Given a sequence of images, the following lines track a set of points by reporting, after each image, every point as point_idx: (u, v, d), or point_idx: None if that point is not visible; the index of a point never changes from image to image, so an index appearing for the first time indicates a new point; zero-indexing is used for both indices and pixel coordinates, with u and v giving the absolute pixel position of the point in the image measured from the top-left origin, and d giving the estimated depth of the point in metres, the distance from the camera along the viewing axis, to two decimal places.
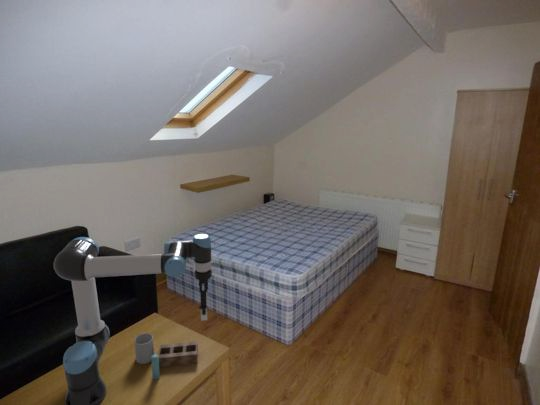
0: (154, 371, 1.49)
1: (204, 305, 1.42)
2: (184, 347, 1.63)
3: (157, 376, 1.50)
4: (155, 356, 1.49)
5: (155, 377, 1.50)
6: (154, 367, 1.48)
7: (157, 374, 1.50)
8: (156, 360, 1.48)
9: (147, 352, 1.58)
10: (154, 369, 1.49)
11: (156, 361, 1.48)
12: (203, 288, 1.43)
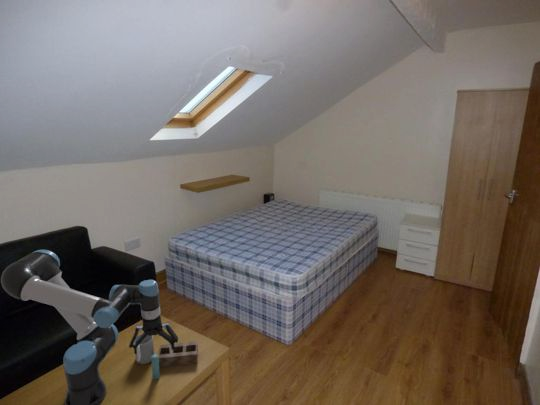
0: (154, 371, 1.49)
1: (130, 343, 1.44)
2: (184, 347, 1.63)
3: (157, 376, 1.50)
4: (155, 356, 1.49)
5: (155, 377, 1.50)
6: (154, 367, 1.48)
7: (157, 374, 1.50)
8: (156, 360, 1.48)
9: (147, 352, 1.58)
10: (154, 369, 1.49)
11: (156, 361, 1.48)
12: None
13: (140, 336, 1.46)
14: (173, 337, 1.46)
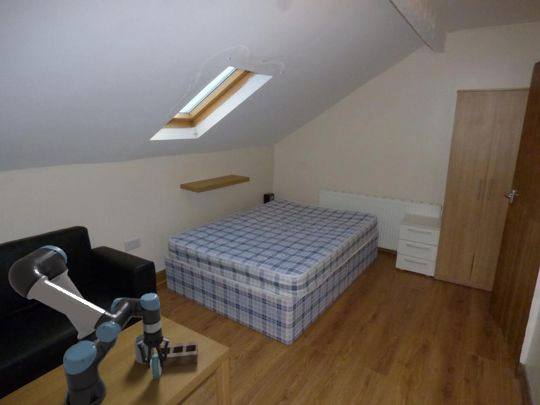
0: (154, 371, 1.49)
1: None
2: (184, 347, 1.63)
3: (157, 376, 1.50)
4: (155, 356, 1.49)
5: (155, 377, 1.50)
6: (154, 367, 1.49)
7: (157, 374, 1.50)
8: (156, 360, 1.48)
9: (147, 352, 1.58)
10: (154, 369, 1.49)
11: (156, 361, 1.48)
12: None
13: None
14: (165, 354, 1.48)
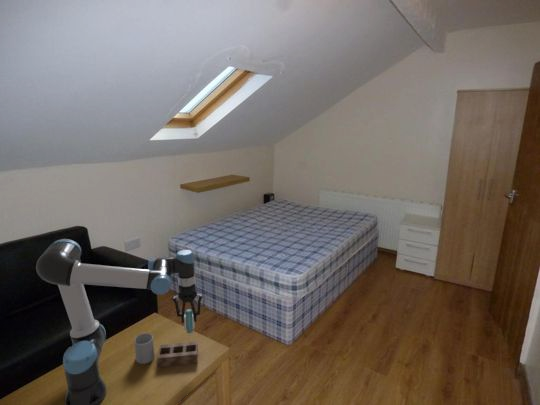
0: (188, 325, 1.57)
1: None
2: (184, 347, 1.63)
3: (191, 330, 1.58)
4: (189, 311, 1.57)
5: (189, 331, 1.58)
6: (188, 321, 1.57)
7: (191, 328, 1.58)
8: (190, 314, 1.56)
9: (147, 352, 1.58)
10: (188, 323, 1.57)
11: (190, 315, 1.56)
12: None
13: None
14: (198, 309, 1.56)
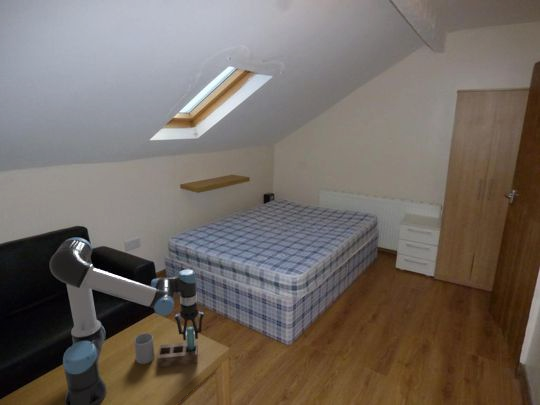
0: (189, 342, 1.60)
1: None
2: (184, 347, 1.63)
3: (192, 347, 1.61)
4: (190, 328, 1.60)
5: (190, 348, 1.61)
6: (189, 338, 1.60)
7: (192, 345, 1.61)
8: (191, 332, 1.59)
9: (147, 352, 1.58)
10: (189, 340, 1.60)
11: (191, 333, 1.59)
12: None
13: None
14: (200, 327, 1.59)
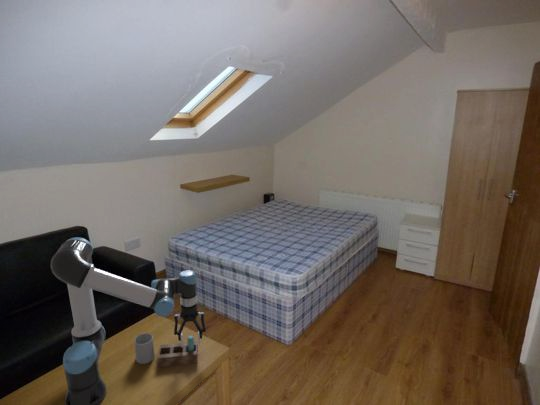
0: (190, 351, 1.62)
1: None
2: (184, 347, 1.63)
3: None
4: (191, 337, 1.61)
5: None
6: (190, 347, 1.61)
7: None
8: (192, 341, 1.61)
9: (147, 352, 1.58)
10: (190, 349, 1.61)
11: (192, 342, 1.61)
12: None
13: (181, 324, 1.59)
14: (203, 326, 1.60)
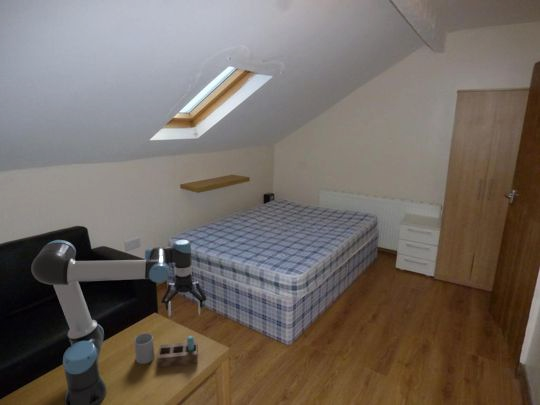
0: (190, 351, 1.62)
1: (162, 298, 1.54)
2: (184, 347, 1.63)
3: None
4: (191, 337, 1.61)
5: None
6: (190, 347, 1.61)
7: None
8: (192, 341, 1.61)
9: (147, 352, 1.58)
10: (190, 349, 1.61)
11: (192, 342, 1.61)
12: (168, 285, 1.53)
13: None
14: (202, 295, 1.56)
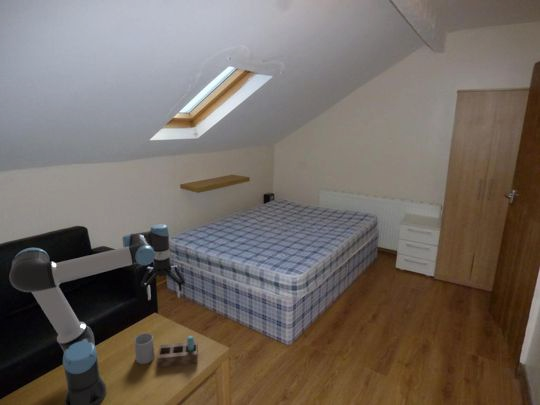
0: (190, 351, 1.62)
1: None
2: (184, 347, 1.63)
3: None
4: (191, 337, 1.61)
5: None
6: (190, 347, 1.61)
7: None
8: (192, 341, 1.61)
9: (147, 352, 1.58)
10: (190, 349, 1.61)
11: (192, 342, 1.61)
12: (147, 268, 1.57)
13: (151, 277, 1.59)
14: (181, 278, 1.60)
